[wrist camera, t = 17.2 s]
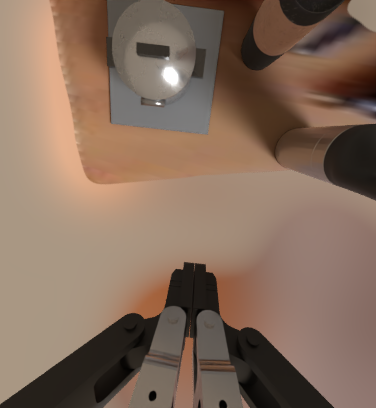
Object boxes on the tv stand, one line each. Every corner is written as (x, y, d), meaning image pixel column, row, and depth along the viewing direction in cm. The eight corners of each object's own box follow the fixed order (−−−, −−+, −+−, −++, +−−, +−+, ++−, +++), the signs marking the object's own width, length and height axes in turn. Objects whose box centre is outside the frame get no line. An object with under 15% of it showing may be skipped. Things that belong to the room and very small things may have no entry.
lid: (200, 10, 29) (201, -1, 27) (190, 111, 33) (190, 108, 31) (114, -1, 29) (108, -13, 26) (116, 102, 33) (110, 99, 31)
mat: (223, 12, 36) (224, 10, 35) (207, 134, 44) (207, 134, 43) (108, -3, 35) (106, -5, 35) (112, 123, 43) (111, 123, 42)
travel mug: (231, 48, 38) (273, -36, 19) (263, 15, 36) (344, -115, 17) (254, 80, 40) (311, 33, 21) (285, 50, 38) (378, -31, 19)
